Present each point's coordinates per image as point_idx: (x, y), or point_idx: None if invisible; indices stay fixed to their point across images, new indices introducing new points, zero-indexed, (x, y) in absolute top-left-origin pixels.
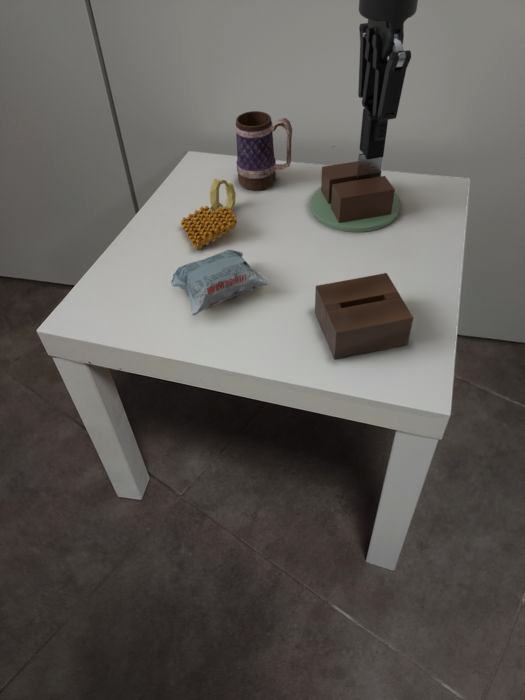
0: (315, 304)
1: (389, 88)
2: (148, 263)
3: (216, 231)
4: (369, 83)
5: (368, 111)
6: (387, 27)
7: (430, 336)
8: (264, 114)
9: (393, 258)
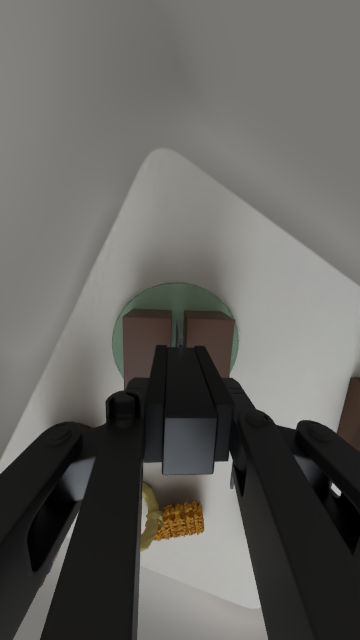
0: None
1: None
2: (204, 553)
3: (202, 522)
4: (137, 618)
5: (196, 472)
6: None
7: None
8: None
9: (296, 339)
